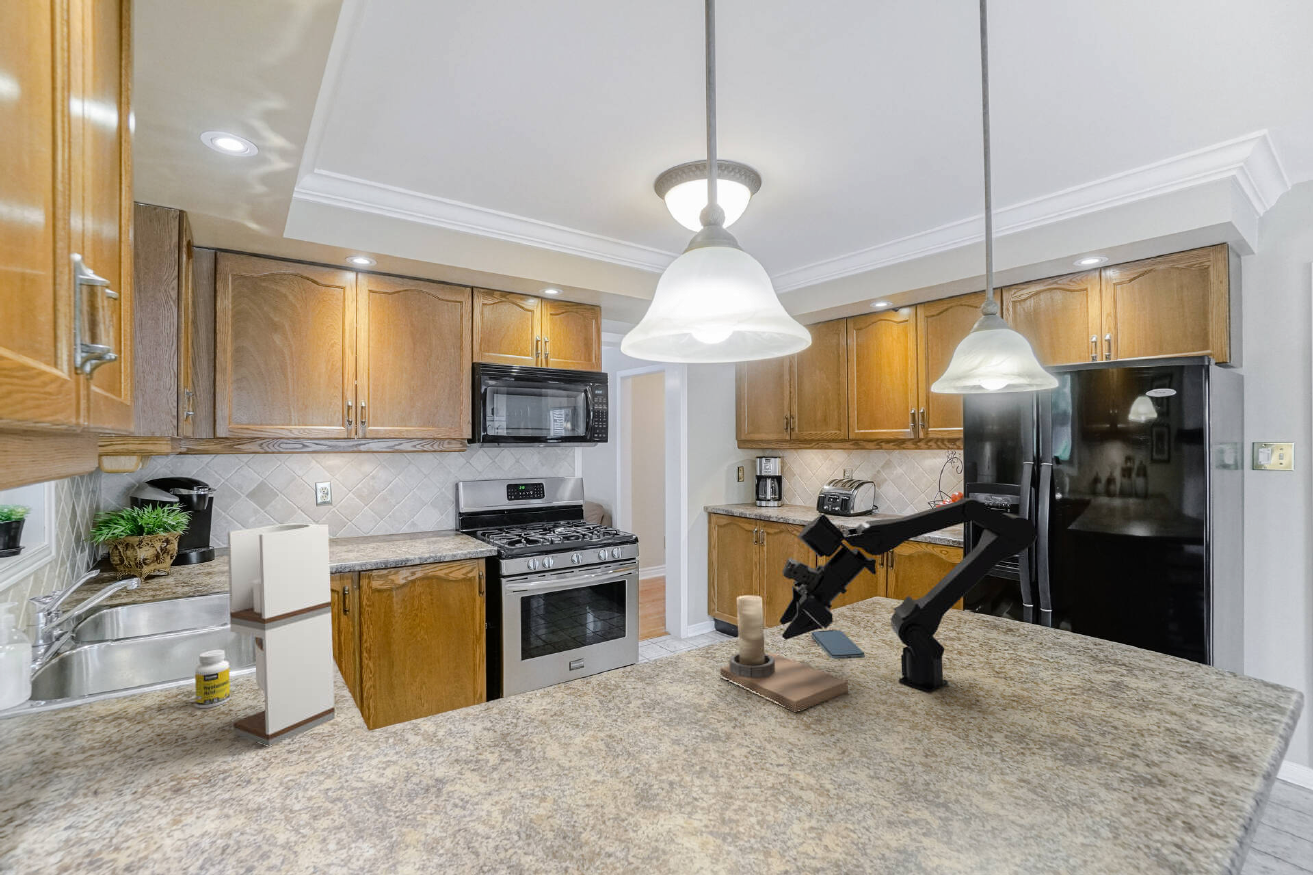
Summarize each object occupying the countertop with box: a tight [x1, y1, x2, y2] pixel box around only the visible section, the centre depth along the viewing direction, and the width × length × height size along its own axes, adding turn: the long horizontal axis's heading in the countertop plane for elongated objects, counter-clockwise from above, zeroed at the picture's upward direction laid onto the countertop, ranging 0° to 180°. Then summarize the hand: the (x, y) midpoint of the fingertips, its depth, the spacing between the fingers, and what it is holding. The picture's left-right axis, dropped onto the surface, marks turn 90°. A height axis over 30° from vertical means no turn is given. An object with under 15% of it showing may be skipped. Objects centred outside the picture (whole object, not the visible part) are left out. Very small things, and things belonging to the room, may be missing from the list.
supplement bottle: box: [194, 649, 231, 709], centre depth 118 cm, size 5×5×10 cm
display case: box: [227, 522, 336, 746], centre depth 107 cm, size 11×11×35 cm
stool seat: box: [719, 652, 849, 713], centre depth 117 cm, size 20×14×4 cm
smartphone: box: [811, 629, 865, 660], centre depth 138 cm, size 8×2×15 cm
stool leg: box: [736, 594, 765, 666], centre depth 120 cm, size 5×5×14 cm
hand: (782, 630), depth 119 cm, fingers open, 9 cm apart
